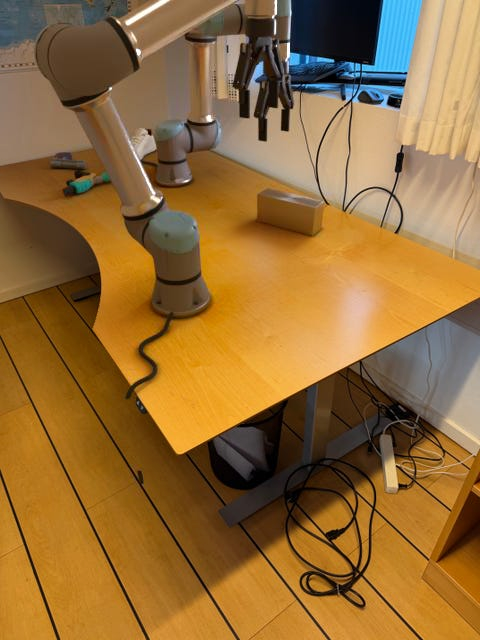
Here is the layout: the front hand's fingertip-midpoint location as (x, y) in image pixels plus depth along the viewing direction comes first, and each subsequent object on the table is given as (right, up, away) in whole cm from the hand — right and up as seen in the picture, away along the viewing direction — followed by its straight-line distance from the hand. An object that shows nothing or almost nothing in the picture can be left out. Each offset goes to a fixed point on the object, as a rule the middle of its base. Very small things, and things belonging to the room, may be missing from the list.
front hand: (259, 112), depth 125 cm
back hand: (+6, +3, +25) cm, 26 cm away
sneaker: (-54, +23, +102) cm, 118 cm away
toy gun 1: (-82, +16, +93) cm, 125 cm away
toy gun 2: (-70, 0, +70) cm, 99 cm away
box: (+12, -22, +38) cm, 46 cm away
